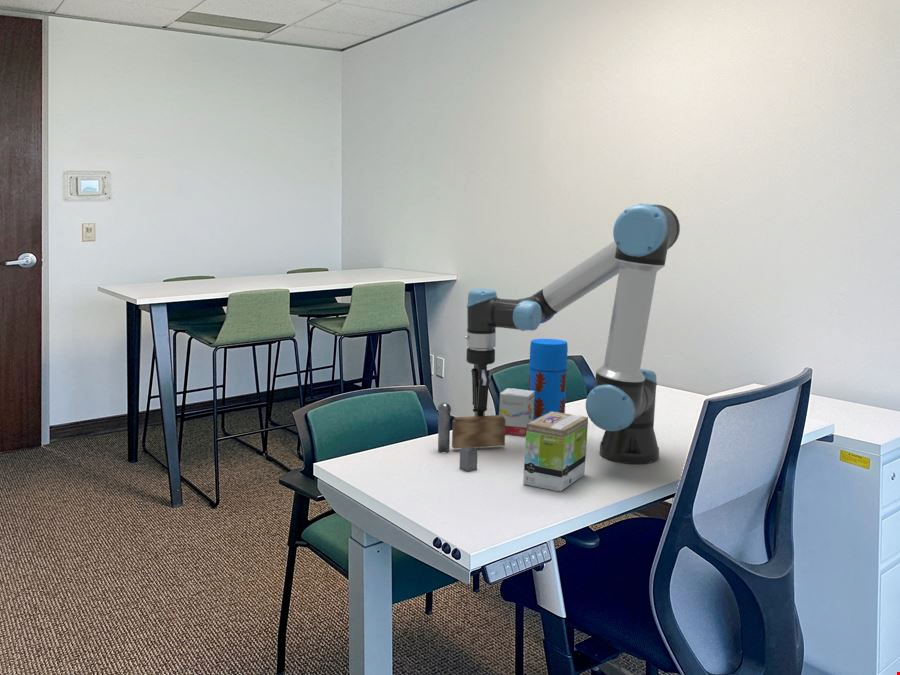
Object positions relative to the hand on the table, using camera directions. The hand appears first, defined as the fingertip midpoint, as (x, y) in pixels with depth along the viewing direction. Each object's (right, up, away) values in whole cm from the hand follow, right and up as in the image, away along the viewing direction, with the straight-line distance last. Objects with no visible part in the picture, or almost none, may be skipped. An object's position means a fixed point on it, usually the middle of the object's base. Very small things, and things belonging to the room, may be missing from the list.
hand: (479, 433), depth 219 cm
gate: (0, -3, -4) cm, 5 cm away
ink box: (+11, -1, +14) cm, 18 cm away
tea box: (+17, -8, -27) cm, 33 cm away
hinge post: (-9, -4, -6) cm, 12 cm away
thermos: (+20, 0, +22) cm, 30 cm away
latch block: (-3, -6, -20) cm, 22 cm away
